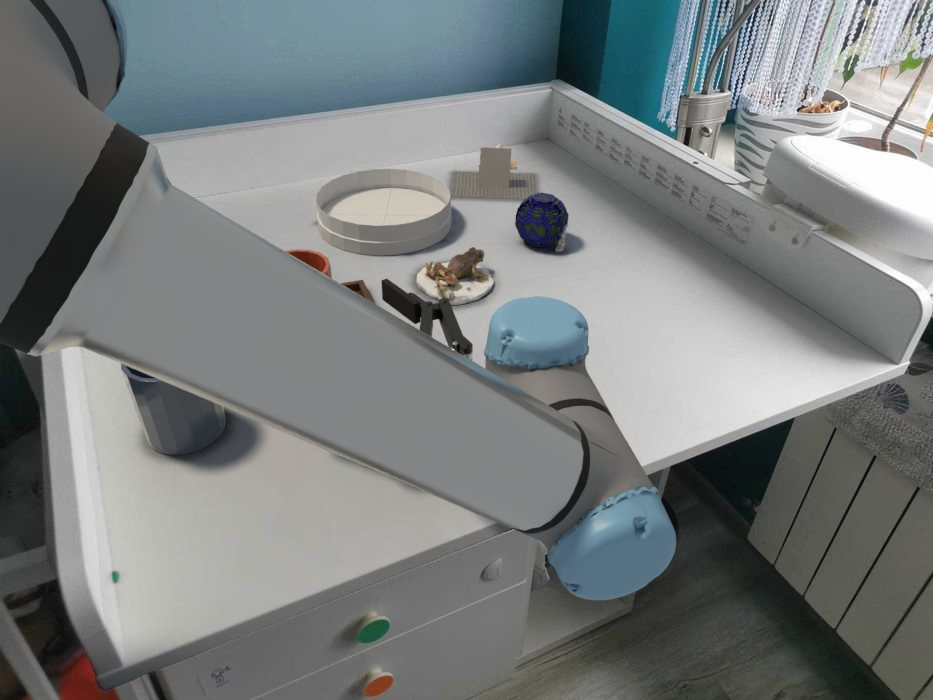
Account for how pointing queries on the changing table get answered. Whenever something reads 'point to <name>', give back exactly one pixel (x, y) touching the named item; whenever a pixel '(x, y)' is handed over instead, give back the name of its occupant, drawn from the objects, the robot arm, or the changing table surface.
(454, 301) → the frog figurine
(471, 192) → the architectural model
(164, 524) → the changing table surface
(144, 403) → the slate cup
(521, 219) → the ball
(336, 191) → the dish
